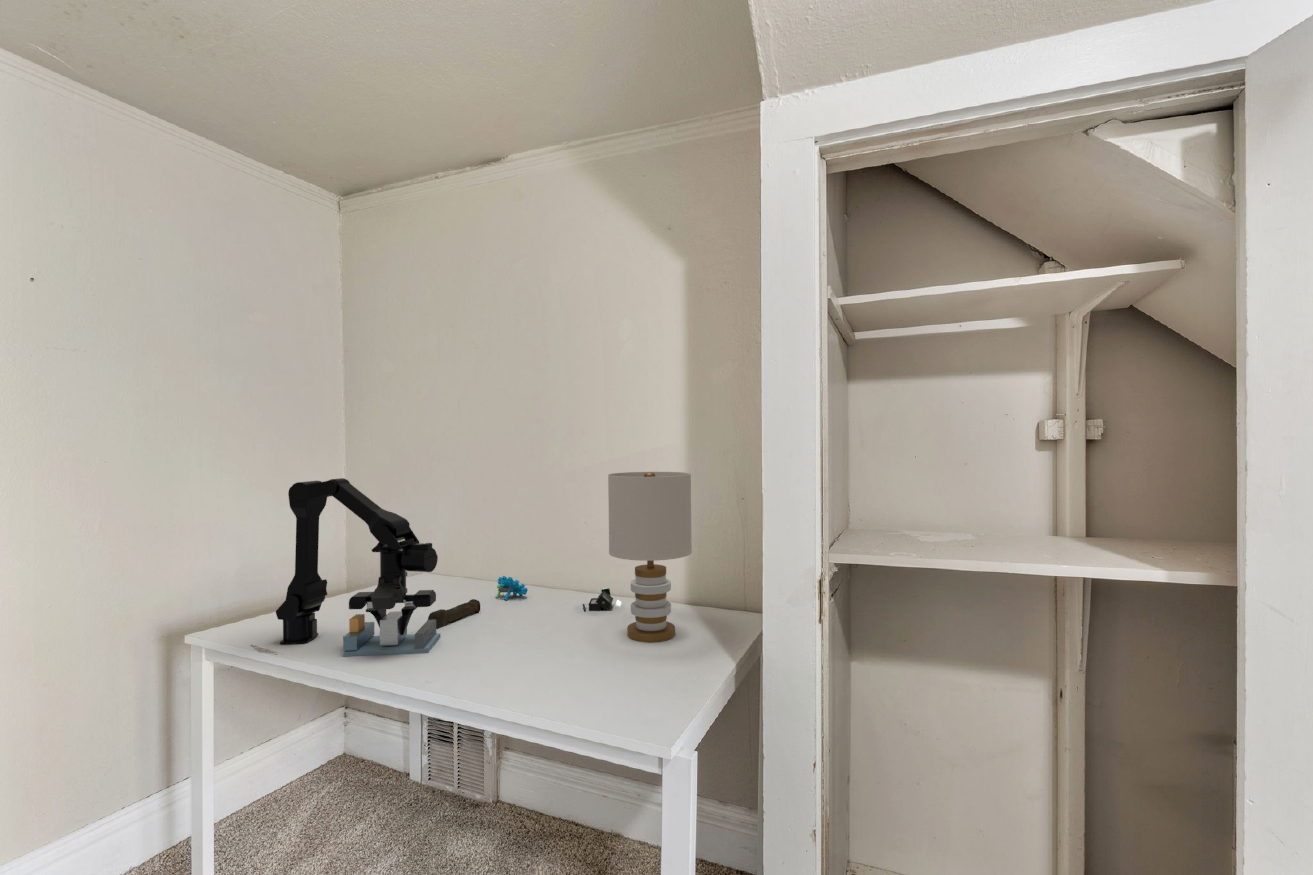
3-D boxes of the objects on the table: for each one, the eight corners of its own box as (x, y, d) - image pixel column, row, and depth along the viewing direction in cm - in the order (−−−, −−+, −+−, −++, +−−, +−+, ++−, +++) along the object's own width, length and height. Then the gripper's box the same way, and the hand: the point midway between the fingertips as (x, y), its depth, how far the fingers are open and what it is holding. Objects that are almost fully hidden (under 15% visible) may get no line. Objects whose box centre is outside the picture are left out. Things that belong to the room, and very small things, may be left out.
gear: (534, 591, 189) (515, 573, 184) (526, 608, 185) (506, 590, 180) (510, 592, 195) (491, 574, 190) (502, 608, 192) (482, 590, 186)
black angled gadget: (623, 617, 169) (623, 597, 169) (569, 617, 169) (569, 597, 169) (626, 602, 184) (626, 584, 184) (577, 602, 184) (577, 584, 184)
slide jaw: (343, 650, 139) (343, 623, 139) (361, 635, 150) (361, 610, 150) (356, 650, 139) (356, 623, 139) (374, 634, 150) (374, 609, 150)
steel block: (380, 645, 142) (379, 620, 142) (390, 635, 149) (390, 611, 149) (397, 644, 142) (397, 619, 142) (406, 635, 149) (406, 611, 149)
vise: (343, 656, 139) (343, 636, 139) (362, 640, 150) (361, 622, 150) (428, 652, 141) (428, 633, 141) (440, 637, 152) (440, 619, 152)
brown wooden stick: (470, 611, 175) (470, 595, 175) (481, 613, 173) (481, 597, 173) (419, 631, 158) (419, 613, 158) (430, 633, 156) (430, 615, 156)
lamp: (685, 651, 140) (683, 475, 140) (599, 645, 144) (597, 474, 144) (697, 623, 161) (696, 469, 161) (621, 619, 165) (620, 469, 165)
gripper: (338, 579, 136) (339, 648, 137) (423, 576, 138) (423, 644, 138) (358, 568, 148) (358, 632, 148) (436, 566, 149) (436, 629, 149)
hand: (393, 634), depth 145 cm, fingers closed on steel block, 4 cm apart
